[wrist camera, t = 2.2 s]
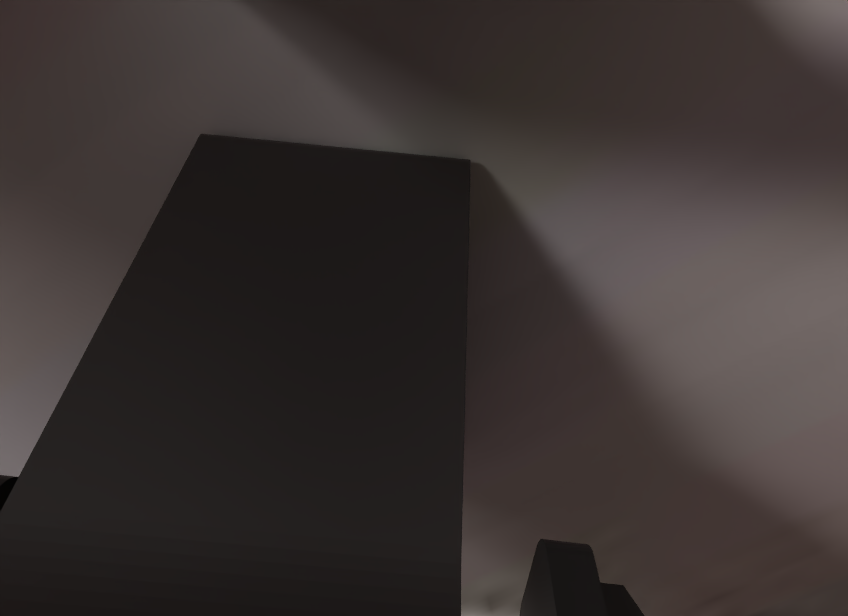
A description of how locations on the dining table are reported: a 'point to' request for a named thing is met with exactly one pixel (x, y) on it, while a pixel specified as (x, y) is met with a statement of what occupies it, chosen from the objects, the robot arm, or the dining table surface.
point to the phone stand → (264, 402)
